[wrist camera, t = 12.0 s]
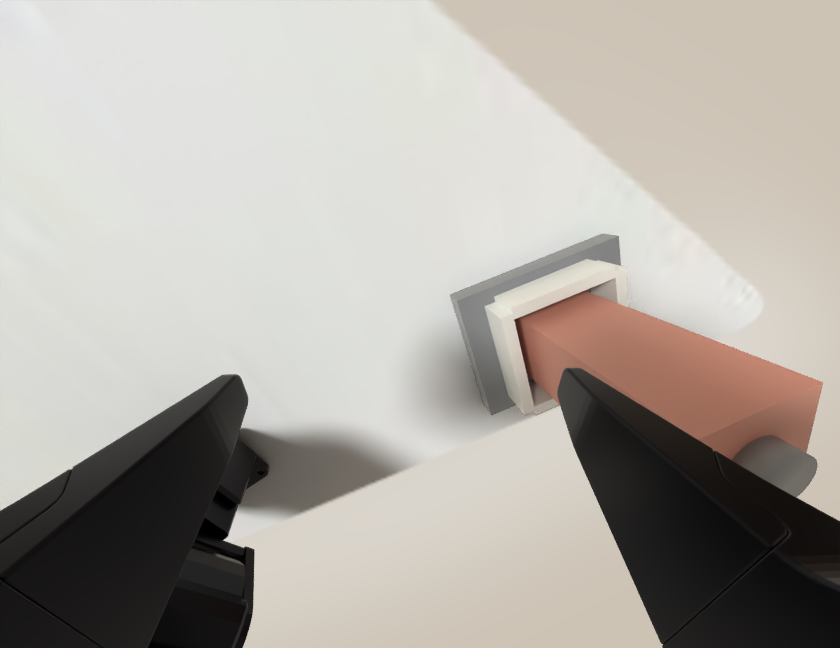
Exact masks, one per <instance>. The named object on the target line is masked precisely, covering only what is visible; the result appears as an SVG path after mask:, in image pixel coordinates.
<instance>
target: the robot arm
mask: <svg viewBox="0 0 840 648" xmlns="http://www.w3.org/2000/svg"><path fill="white" fill-rule="evenodd" d="M557 396H558V400H559V403H560V406H561V409H562V412H563V415H564V419H565V421H566V424H567V428H568V431H569V434H570V437H571V440H572V443H573V446H574V448H575V451H576V453H577V456H578V458H579V460H580V462H581V465H582V467H583V469H584V471H585V473H586V476H587V478H588V480H589V482H590V485H591V487H592V489H593V492H594V494H595V496H596V498H597V500H598V503H599V505H600V507H601V510H602V512H603V514H604V516H605V519H606V521H607V523H608V525H609V527H610V530H611V532H612V534H613V536H614V539H615V541H616V543H617V545H618V548H619V550H620V552H621V554H622V557H623V559H624V561H625V563H626V566H627V568H628V570H629V572H630V575H631V577H632V579H633V581H634V584H635V586H636V588H637V590H638V593H639V595H640V597H641V599H642V602H643V604H644V606H645V608H646V611H647V613H648V615H649V617H650V620H651V622H652V624H653V626H654V629H655V631H656V633H657V635H658V637H659V640H660V642H661V643H662V644H663V648H840V521H838V520H836V519H835V518H833V517H831V516H829V515H827V514H825V513H824V512H822V511H820V510H818V509H816V508H814V507H813V506H811V505H809V504H807V503H805V502H803V501H802V500H800V499H798V498H796V497H794V496H793V495H791V494H789V493H787V492H786V491H784V490H782V489H780V488H778V487H777V486H775V485H773V484H771V483H769V482H768V481H766V480H764V479H762V478H761V477H759V476H757V475H756V474H754V473H752V472H751V471H749V470H747V469H746V468H744V467H742V466H740V465H739V464H737V463H735V462H734V461H732V460H731V459H729V458H727V457H726V456H724V455H722V454H721V453H719V452H718V451H713V449H712V448H711V447H709V446H708V445H706V444H704V443H703V442H701V441H699V440H698V439H696V438H694V437H693V436H691V435H690V434H688V433H686V432H685V431H683V430H681V429H680V428H678V427H677V426H675V425H673V424H672V423H670V422H668V421H667V420H665V419H663V418H662V417H660V416H659V415H657V414H655V413H654V412H652V411H650V410H649V409H647V408H645V407H644V406H642V405H641V404H639V403H637V402H636V401H634V400H632V399H631V398H629V397H627V396H626V395H624V394H623V393H621V392H619V391H618V390H616V389H614V388H613V387H611V386H610V385H608V384H606V383H605V382H603V381H601V380H600V379H598V378H596V377H595V376H593V375H592V374H590V373H588V372H587V371H585V370H583V369H582V368H578V367H574V368H565V369H564V370H563V372H562V376H561V379H560V383H559V386H558V390H557ZM247 406H248V395H247V393H246V390H245V387H244V384H243V382H242V379H241V377H240V376H239V375H237V374H229V375H221V376H220V377H218V378H216V379H215V380H213V381H211V382H210V383H208V384H207V385H205V386H203V387H202V388H200V389H199V390H197V391H195V392H194V393H192V394H190V395H189V396H187V397H186V398H184V399H182V400H181V401H179V402H177V403H176V404H174V405H173V406H171V407H169V408H168V409H166V410H165V411H163V412H161V413H160V414H158V415H156V416H155V417H153V418H152V419H150V420H148V421H147V422H145V423H144V424H142V425H140V426H139V427H137V428H135V429H134V430H132V431H131V432H129V433H127V434H126V435H124V436H122V437H121V438H119V439H118V440H116V441H114V442H113V443H111V444H110V445H108V446H106V447H105V448H103V449H101V450H100V451H98V452H97V453H95V454H93V455H92V456H90V457H88V458H87V459H85V460H84V461H82V462H80V463H79V464H77V465H76V466H74V467H73V469H72V470H71V469H70V470H67V471H66V472H64V473H62V474H61V475H59V476H58V477H56V478H54V479H53V480H51V481H50V482H48V483H46V484H45V485H43V486H41V487H40V488H38V489H36V490H35V491H33V492H31V493H30V494H28V495H26V496H25V497H23V498H21V499H20V500H18V501H16V502H15V503H13V504H11V505H10V506H8V507H6V508H4V509H3V510H1V511H0V648H242V647H243V645H244V642H245V640H246V636H247V633H248V630H249V627H250V623H251V618H252V612H253V589H254V549H252V548H249V547H244V548H243V547H240V546H237V545H234V544H231V543H229V542H226V541H223V540H224V539H225V538H227V536H228V534H229V531H230V528H231V525H232V522H233V519H234V516H235V514H236V511H237V508H238V505H239V504H240V503H241V502H242V499H243V496H244V493H245V490H246V489H247V488H249V487H250V486H252V485H253V484H255V483H256V482H258V481H259V480H261V479H263V478H264V477H266V476H267V475H268V472H269V466H268V464H266V463H265V462H264V461H263V460H262V459H261V458H259V457H258V456H257V455H256V454H255V453H254V452H253V451H252V450H251V449H249V448H248V447H247V446H246V445H245V444H244V443H242V442H241V441H240V440H239V439H238V434H239V431H240V428H241V425H242V422H243V418H244V415H245V412H246V409H247ZM260 470H264V471H260Z"/></svg>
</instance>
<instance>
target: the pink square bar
mask: <svg viewBox="0 0 840 648" xmlns="http://www.w3.org/2000/svg"><path fill="white" fill-rule="evenodd" d="M514 321H515V325H516V330H517V334H518V338H519V343H520V347H521V351H522V356H523V360H524V364H525V369H526V373H527V374H528V375H529V376H530V377H531V378H532V379H533V380H534V381H535V382H536V383H537V384H538V385H539V386H540V387H541V388H543V389H544V390H545V391H546V392H547V393H548V394H549V395H550V396H551V397H552V398H553V399H554V400H555V401H556V402H557V403H558V404H559V405H560V403H559V400H558V396H557V390H558V386H559V383H560V379H561V376H562V372H563V370H564V369H565V368H574V367H578V368H582V369H583V370H585V371H587V372H588V373H590V374H592V375H593V376H595V377H596V378H598V379H600V380H601V381H603V382H605V383H606V384H608V385H610V386H611V387H613V388H614V389H616V390H618V391H619V392H621V393H623V394H624V395H626V396H627V397H629V398H631V399H632V400H634V401H636V402H637V403H639V404H641V405H642V406H644V407H645V408H647V409H649V410H650V411H652V412H654V413H655V414H657V415H659V416H660V417H662V418H663V419H665V420H667V421H668V422H670V423H672V424H673V425H675V426H677V427H678V428H680V429H681V430H683V431H685V432H686V433H688V434H690V435H691V436H693V437H694V438H696V439H698V440H699V441H701V442H703V443H704V444H706V445H708V446H709V447H711V448H712V449H713V451H718V452H719V453H721V454H722V455H724V456H726V457H727V458H729V459H731V460H732V461H734V462H735V463H737V464H739V465H740V466H742V467H744V468H746V469H747V470H749V471H751V472H752V473H754V474H756V475H757V476H759V477H761V478H762V479H764V480H766V481H768V482H769V483H771V484H773V485H775V486H777V487H778V488H780V489H782V490H784V491H786V492H787V493H789V494H791V495H793V496H794V497H797V496H798V495H800V494H801V493H802V492H803V491H804V490H805V489H806V487H807V486H808V485H809V484H810V482H811V481H812V479H813V477H814V475H815V473H816V470H817V461H816V459H815V458H814V457H812V456H811V455H809V454H807V453H806V451H807V448H808V444H809V439H810V435H811V431H812V427H813V423H814V418H815V414H816V410H817V406H818V402H819V398H820V394H821V389H822V385H823V382H821V381H818V380H815V379H813V378H810V377H808V376H805V375H802V374H800V373H797V372H794V371H792V370H789V369H786V368H784V367H782V366H779V365H776V364H774V363H771V362H769V361H766V360H763V359H761V358H758V357H756V356H752V355H750V354H748V353H745V352H742V351H740V350H737V349H735V348H732V347H729V346H727V345H725V344H722V343H719V342H717V341H714V340H712V339H709V338H706V337H704V336H701V335H699V334H696V333H693V332H691V331H688V330H686V329H683V328H680V327H678V326H675V325H673V324H670V323H667V322H665V321H662V320H660V319H657V318H654V317H652V316H649V315H647V314H644V313H642V312H639V311H636V310H634V309H631V308H629V307H626V306H623V305H621V304H618V303H616V302H613V301H610V300H608V299H605V298H603V297H600V296H597V295H595V294H592V293H590V292H587V291H582V292H580V293H577V294H575V295H573V296H570V297H568V298H565V299H563V300H561V301H558V302H556V303H553V304H551V305H548V306H546V307H544V308H541V309H539V310H536V311H534V312H531V313H529V314H527V315H524V316H522V317H519V318H517V319H514Z"/></svg>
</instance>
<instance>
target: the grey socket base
mask: <svg viewBox="0 0 840 648" xmlns="http://www.w3.org/2000/svg"><path fill="white" fill-rule="evenodd" d="M582 291H587V292H590V293H592V294H595V295H597V296H600V297H603V298H605V299H608V300H610V301H613V302H616V303H618V304H621V305H623V306H626V307H629V298H628V282H627V267H624V266H621V263H620V249H619V236H615V235H608V234H601V235H598V236H596V237H593V238H591V239H588V240H586V241H583V242H581V243H578V244H576V245H573V246H571V247H568V248H566V249H563V250H561V251H558V252H556V253H553V254H551V255H548V256H546V257H543V258H541V259H538V260H536V261H533V262H531V263H528V264H526V265H523V266H521V267H518V268H516V269H513V270H511V271H508V272H506V273H503V274H501V275H498V276H496V277H493V278H491V279H488V280H486V281H483V282H481V283H478V284H476V285H473V286H471V287H468V288H466V289H463V290H461V291H458V292H456V293H453V294H451V295H450V297H451V300H452V303H453V306H454V309H455V313H456V316H457V319H458V322H459V326H460V329H461V332H462V335H463V338H464V342H465V345H466V348H467V351H468V355H469V358H470V361H471V364H472V367H473V371H474V374H475V377H476V380H477V384H478V387H479V390H480V393H481V396H482V400H483V403H484V405H485V407H486V408H487V409H488V411H489V412H490V414H491V415H493V414H496V413H498V412H500V411H503V410H505V409H507V408H509V407H512V406H514V405H516V406H517V407H518V408H519V409H520V410H521V412H522V413H523V414H524V415H527V414H530V413H532V412H534V413H535V415H538V414H540V413H543V412H545V411H547V410H550V409H552V408H554V407H556V406H559V404H558V403H557V402H556V401H555V400H554V399H553V398H552V397H551V396H550V395H549V394H548V393H547V392H546V391H545V390H544V389H543V388H541V387H540V386H539V385H538V384H537V383H536V382H535V381H534V380H533V379H532V378H531V377H530V376H529V375H528V374H527V373H526V369H525V364H524V360H523V356H522V351H521V347H520V343H519V338H518V334H517V330H516V325H515V321H514V319H517V318H519V317H522V316H524V315H527V314H529V313H531V312H534V311H536V310H539V309H541V308H544V307H546V306H548V305H551V304H553V303H556V302H558V301H561V300H563V299H565V298H568V297H570V296H573V295H575V294H577V293H580V292H582Z"/></svg>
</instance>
